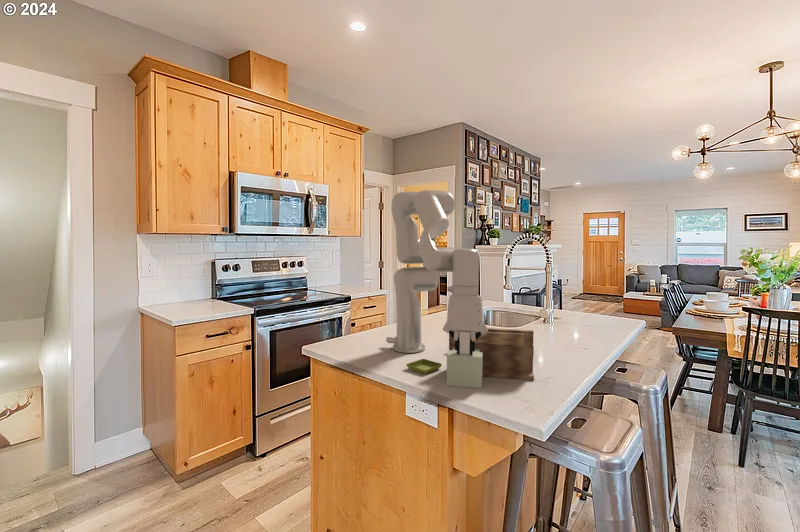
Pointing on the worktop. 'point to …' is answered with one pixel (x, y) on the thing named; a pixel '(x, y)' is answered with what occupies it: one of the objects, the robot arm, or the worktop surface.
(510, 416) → the worktop surface
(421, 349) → the robot arm
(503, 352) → the wall board
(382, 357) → the worktop surface
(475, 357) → the pale green stepped block
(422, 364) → the olive green square tray
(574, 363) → the worktop surface
